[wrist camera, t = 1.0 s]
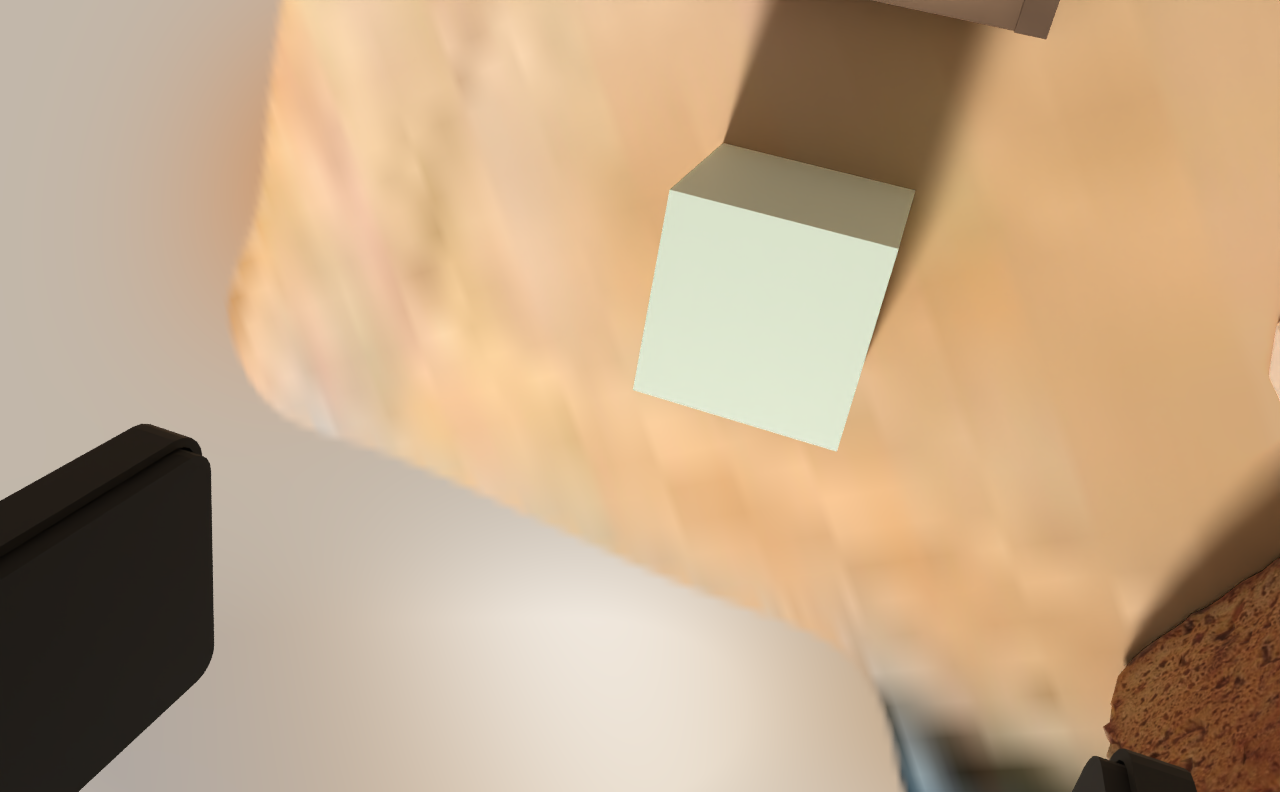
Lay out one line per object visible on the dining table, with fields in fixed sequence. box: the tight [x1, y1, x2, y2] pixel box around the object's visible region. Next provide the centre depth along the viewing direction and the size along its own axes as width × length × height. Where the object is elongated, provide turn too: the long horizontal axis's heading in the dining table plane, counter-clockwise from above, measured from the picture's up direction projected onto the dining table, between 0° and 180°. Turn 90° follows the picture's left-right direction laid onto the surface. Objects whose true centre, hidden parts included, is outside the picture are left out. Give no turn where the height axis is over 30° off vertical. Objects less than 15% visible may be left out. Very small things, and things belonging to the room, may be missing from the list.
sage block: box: [633, 143, 915, 451], centre depth 30 cm, size 6×6×6 cm
